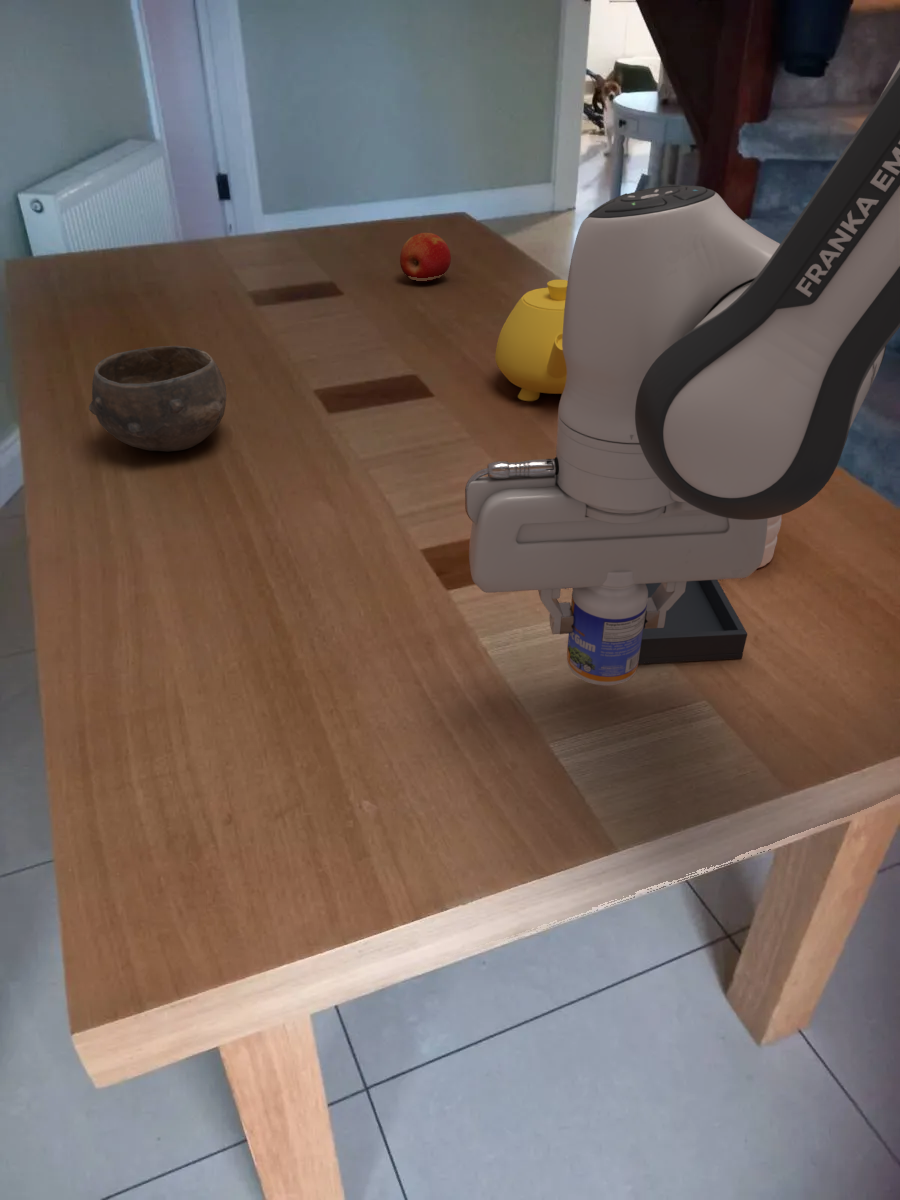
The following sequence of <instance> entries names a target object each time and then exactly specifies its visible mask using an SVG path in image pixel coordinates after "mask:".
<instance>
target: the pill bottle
mask: <svg viewBox="0 0 900 1200" xmlns="http://www.w3.org/2000/svg"><path fill="white" fill-rule="evenodd" d="M632 577H633V572H632V571H618V572H609V573H608V574H607V580H606V581H605V582H604V583H603V584H602V585H603V586H597V587H580V588H572V592H571V602H570V605H571V610H572V611H573V614H574V624H573V625H572V626H573V633H569V634H568V635H567V636H568V638H567V648H566V663H567V666H568V668H569V670H570V672H571V673H572V674H573V675H574V676H575V677H577V678H578V679H580V680H582V681H583V682H586V683H589V684H591V685H596V686H615V685H620V684H623V683H626V682H627V681H629V680H631V678H633V677H634V675H635V674H636V672H637V670H638V666H639V664H638V661H639V654H640V647H641V640H642V633H643V627H644V621H645V614H646V607H647V600H648V589H647V586H646V584H634V583H635V582H634V580H633V578H632Z"/></svg>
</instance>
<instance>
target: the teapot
mask: <svg viewBox="0 0 900 1200" xmlns="http://www.w3.org/2000/svg"><path fill="white" fill-rule="evenodd" d="M567 283H568V279H551V280H549V281H547V283H546V285H547V286H546V287H540V288H536V289H532V290H529V291H526V292H525V293H524V294H523V295H522V297H520V299H519V300H518V301H517V302H516V304H515V305H514V307H513V309H512V310H511V312H510V313H509V315H508V317H507V318H506V320H505V321H504V324H503V325H502V327H501V330H500V332H499V335H498V338H497V341H496V342H497V343H496V347H495V355H494V358H495V359H494V360H495V363H496V366H497V367H498V369H499V371H500V372H501V373H502V374H503V375H504V377H505V378H506V379H507V380H508V381H509V382H510V383H511V384H513V385H514V386H516V387H518V388H520V391H519V393H518V394H517V398H518V399H519V400H521V401H526V402H535V401H537V400H538V399H539V398H540V395H541V393H543V394H555V395H556V394H557V395H560V394H561V395H562V393H563V391H564V388H565V384H566V377H567V368H566V362H565V358H564V354H563V348H562V335H563V321H564V310H565V300H566V291H567Z"/></svg>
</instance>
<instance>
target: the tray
mask: <svg viewBox="0 0 900 1200" xmlns="http://www.w3.org/2000/svg"><path fill="white" fill-rule="evenodd" d="M718 580H719V579H718ZM718 580H701V581H687V582H686V588H685V592H684V593H683V594H682V595H681V597H680V598H679V599H678V600H677V601H676V602H675V603H674V604H673V606H672V607H671V608H670V609H669V610H666V617H665V624H664V627H663V628H648V629H643V633H642V640H641V647H640V654H639V661H638V665H644V664H661V663H664V664H665V663H680V662H681V663H682V662H683V663H684V662H701V661H702V662H703V661H717V660H718V661H720V660H721V661H722V660H738V659H739V660H740V659H743V654H744V650H745V648H746V647H745V646H746V642H747V638H748V632H747V629H745V627H744V625H743V623H742V621H741V620H740V617H739V616H738V613H737V612H736V611H735V609H734V606H733V605H732V603H731V602H730V599H729V598H728V596H727V594H726V593H725V591H724V590H723V587H722V586H721V584H720V582H719V581H718ZM660 584H661V583H649V584H646V586H647V589H648V597H652V595H653V594H654V592H655V591H656V590H657V588H658V587H659V586H660Z"/></svg>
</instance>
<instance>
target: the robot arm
mask: <svg viewBox="0 0 900 1200" xmlns="http://www.w3.org/2000/svg"><path fill="white" fill-rule="evenodd" d="M567 281H568V283H567V291H566V300H565V310H564V321H563V335H562V348H563V354H564V358H565V362H566V368H567V377H566V384H565V388H564V391H563V393H562V394H561V396H560V400H559V403H558V412H557V429H556V430H557V431H556V446H555V457H554V458H542V459H540V458H539V459H529V460H523V461H515V462H514V461H511V462H509V461H507V460H505V461H504V460H501V461H493V462H489V463H488V464H487V467H486V468H483V469H482V468H481V469H480V470H478V471H476V472H475V473H474V474H472V475H471V476H470V477H469V479H468V480H467V481H466V484H465V488H464V508H465V509H464V510H465V513H466V515H467V517H468V519H469V520H470V521H471V526H470V528H471V529H470V535H469V545H468V564H469V570H470V571H469V572H470V576H471V580H472V582H473V583H474V584H475V585H476V587H478V588H479V589H480V590H481V592H483V593H487V594H490V593H493V594H495V593H509V592H511V593H512V592H526V591H527V592H528V591H537V593H538V596H539V599H540V601H541V603H542V604H543V606H544V607H545V608H546V610H547V612H548V613H549V618H548V619H549V627H550V630H551V634H552V635H567V634H568V635H569V633H573V626H572V625H573V624H574V614H573V611H572V610H571V602H570V601H566V602H564V601H563V602H560V601H559V599H560V598H561V589H562V590H563V589H573V588H580V587H597V586H603V585H602V584H603V583H604V582H605V581H606V580H607V574H608V573H609V572H618V571H632V572H633V577H632V578H633V580H634V582H635V583H634V584H649V583H661V584H660V586H659V587H658V588H657V590H656V591H655V592H654V594H653V595H652V597H648V600H647V607H646V614H645V621H644V627H643V629H648V628H663V627H664V624H665V617H666V610H669V609H670V608H671V607H672V606H673V604H674V603H675V602H676V601H677V600H678V599H679V598H680V597H681V595H682V594H683V593H684V592H685V588H686V582H687V581H701V580H735V579H736V580H737V579H746V578H748V577H749V576H751V575H752V574H753V573H754V572H756V570H757V569H759V568H758V567H759V566H760V565H761V562H762V559H763V554H764V549H765V543H766V534H767V518H772V517H776V516H779V515H782V516H783V515H785V514H788V513H790V512H792V511H795V510H797V509H799V508H800V507H802V506H804V505H805V504H808V502H810V501H811V500H812V499H814V498H815V497H816V496H817V495H818V494H819V493H820V492H821V491H822V490H823V489H824V487H826V485H827V483H829V481H830V479H831V478H832V476H833V474H834V473H835V471H836V469H837V468H838V467H837V466H838V464H839V462H840V459H841V457H842V454H843V452H844V449H845V446H846V443H847V440H848V438H849V431H850V429H851V427H852V425H853V424H854V421H855V419H856V417H857V416H858V413H859V411H860V410H861V407H862V405H863V403H864V401H865V400H866V397H867V395H868V393H869V391H870V389H871V387H872V385H873V383H874V380H875V378H876V376H877V374H878V372H879V370H880V369H881V367H882V363H883V362H884V357H885V355H886V351H887V345H888V343H889V342H890V340H891V339H892V338H893V336H894V335H895V334H896V333H897V332H898V330H899V329H900V60H899V61H898V63H897V64H896V67H895V69H894V70H893V73H892V74H891V76H890V78H889V79H888V81H887V83H886V85H885V87H884V89H883V91H882V92H881V94H880V95H879V98H878V99H877V101H876V102H875V104H874V105H873V107H872V109H870V111H869V112H868V113H867V116H866V117H865V118H864V120H863V122H862V123H861V125H860V127H859V128H858V130H857V131H856V132H855V133H854V135H853V137H852V138H851V139H850V141H849V142H848V144H847V146H846V147H845V148H844V150H843V151H842V153H841V154H840V156H839V157H838V158H837V160H836V161H835V163H834V164H833V166H832V167H831V169H830V170H829V172H828V173H827V174H826V176H825V178H824V179H823V181H822V182H821V183H820V185H819V187H818V188H817V189H816V190H815V192H814V194H813V195H812V196H811V198H810V199H809V201H808V203H807V204H806V206H805V207H804V209H803V210H802V211H801V212H800V214H799V216H798V217H797V219H796V220H795V222H794V223H793V225H792V226H791V228H790V229H789V231H788V232H787V233H786V235H785V236H784V238H783V239H782V241H781V243H780V242H778V241H775V240H774V239H772V238H770V237H768V236H767V235H765V234H764V233H762V232H761V231H759V230H757V229H756V228H754V227H753V226H751V225H750V224H748V223H747V222H746V221H744V220H743V219H742V218H741V217H740V216H738V215H737V214H736V213H734V211H733V210H732V209H731V208H730V207H729V206H728V205H727V203H726V201H725V200H724V199H723V198H722V196H721V195H720V194H719V193H717V192H716V191H714V190H713V189H710V188H706V187H704V186H701V185H700V186H699V185H691V184H676V185H663V186H656V187H648V188H642V189H639V190H637V191H633V192H629V193H627V192H626V193H624V194H621V195H619V196H616V197H614V198H612V199H610V200H608V201H606V202H604V203H602V204H601V205H599V206H598V207H596V208H595V209H594V210H592V211H591V212H589V214H588V215H587V217H586V218H585V219H583V220H582V221H581V224H580V226H579V228H578V231H577V233H576V237H575V241H574V244H573V248H572V254H571V259H570V264H569V270H568V276H567ZM486 475H487V476H486Z"/></svg>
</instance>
